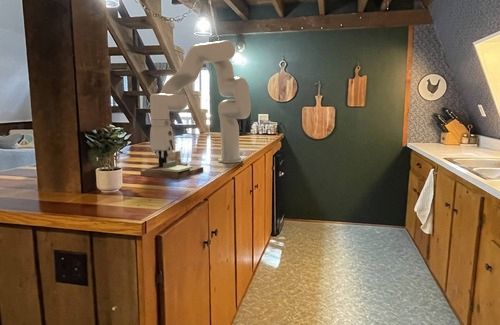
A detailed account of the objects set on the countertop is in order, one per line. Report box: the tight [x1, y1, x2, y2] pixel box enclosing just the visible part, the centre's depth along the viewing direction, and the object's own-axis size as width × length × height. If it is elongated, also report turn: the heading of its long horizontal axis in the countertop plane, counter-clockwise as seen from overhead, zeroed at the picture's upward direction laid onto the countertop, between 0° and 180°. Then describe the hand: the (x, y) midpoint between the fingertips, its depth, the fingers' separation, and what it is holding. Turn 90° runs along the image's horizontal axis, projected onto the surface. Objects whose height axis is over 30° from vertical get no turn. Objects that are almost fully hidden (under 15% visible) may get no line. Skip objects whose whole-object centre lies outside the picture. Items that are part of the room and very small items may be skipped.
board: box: [139, 162, 204, 180], centre depth 157 cm, size 18×20×3 cm
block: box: [166, 149, 182, 165], centre depth 162 cm, size 4×4×7 cm
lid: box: [162, 161, 193, 172], centre depth 149 cm, size 9×9×3 cm
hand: (162, 166), depth 153 cm, fingers closed
